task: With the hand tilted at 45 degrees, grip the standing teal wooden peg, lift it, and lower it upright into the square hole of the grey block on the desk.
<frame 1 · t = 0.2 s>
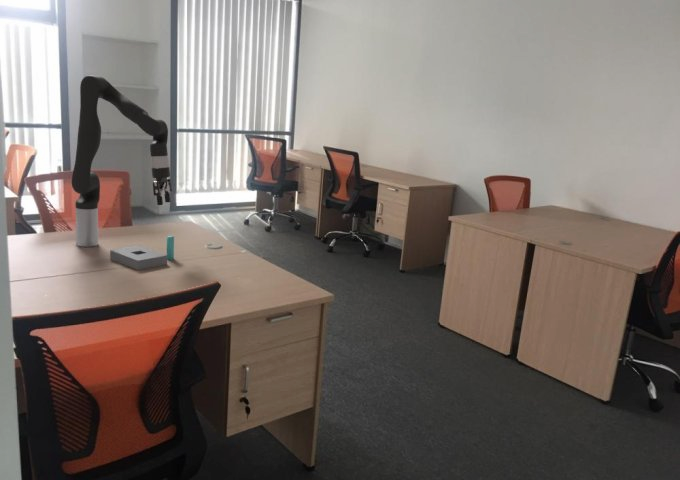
hand: (164, 203, 258), 23 cm above the table, tool pointing down, fingers open, 8 cm apart
peg: (170, 258, 257), on the table
hole block: (138, 261, 249), on the table
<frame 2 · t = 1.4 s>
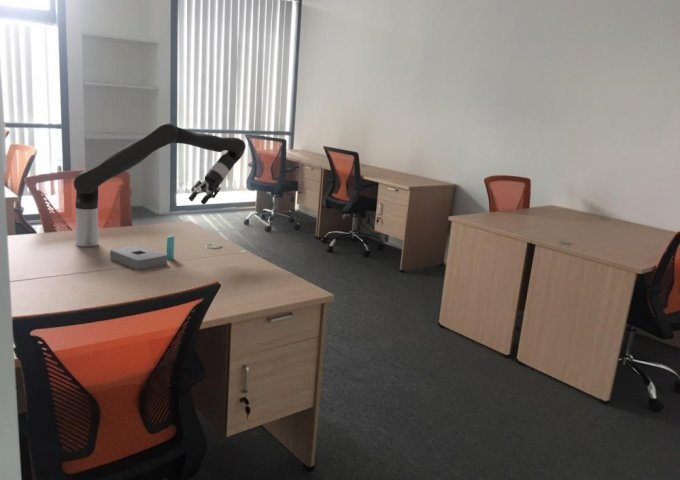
hand: (196, 201, 261), 24 cm above the table, tool tilted 45°, fingers open, 8 cm apart
nothing on the table moved.
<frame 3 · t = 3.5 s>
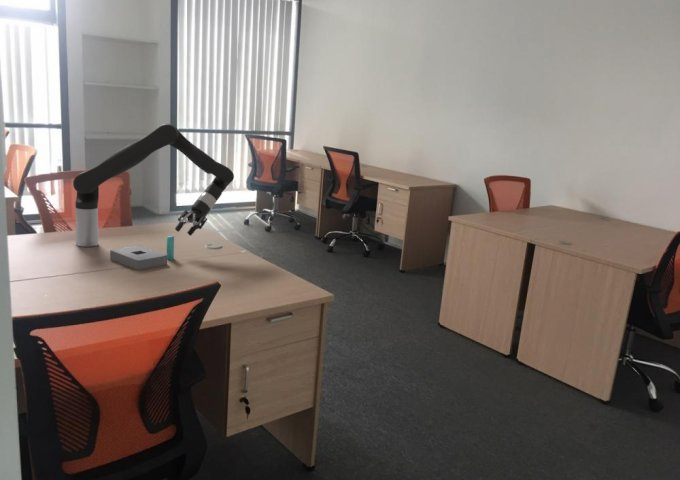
hand: (182, 232, 259), 11 cm above the table, tool tilted 45°, fingers open, 8 cm apart
nothing on the table moved.
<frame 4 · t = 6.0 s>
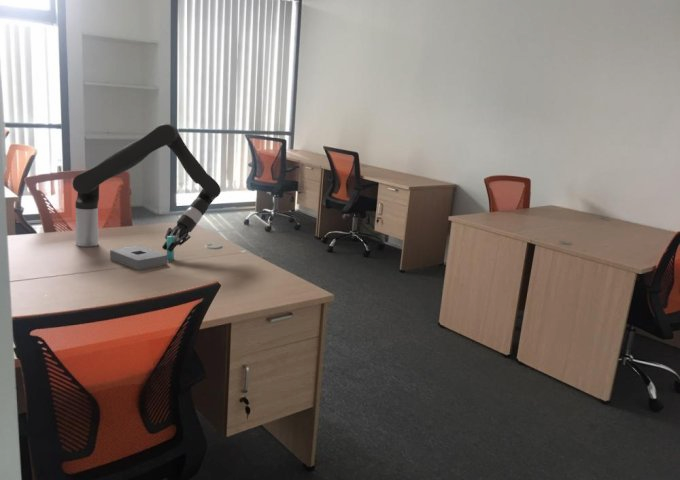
hand: (166, 249, 254), 4 cm above the table, tool tilted 45°, fingers closed on peg, 3 cm apart
peg: (170, 258, 257), on the table, touching gripper
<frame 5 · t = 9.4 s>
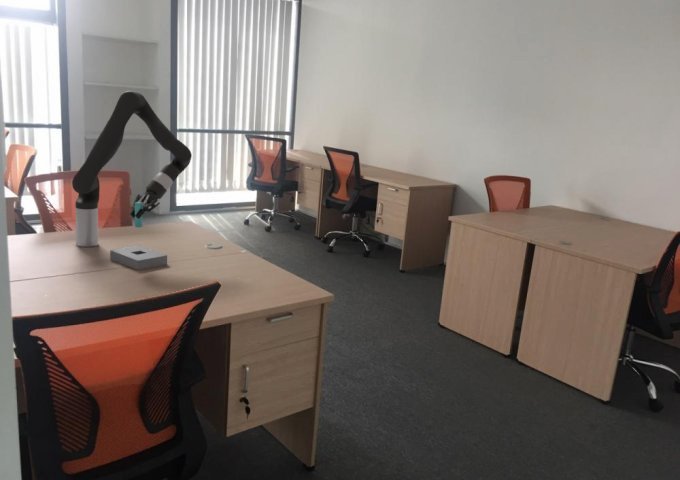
hand: (134, 216, 243), 20 cm above the table, tool tilted 45°, fingers closed on peg, 3 cm apart
peg: (138, 226, 245), point 15 cm above the table, touching gripper
when the fingers open (7 cm above the table, at t = 12.6 s): peg drops 2 cm, resting in hole block.
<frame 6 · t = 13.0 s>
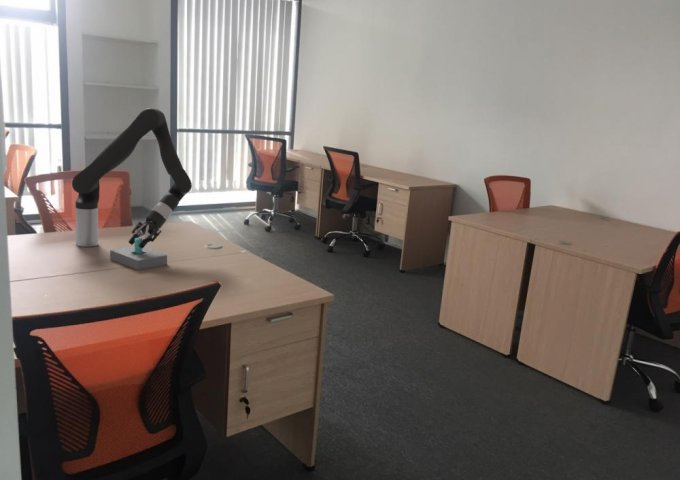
hand: (135, 245, 246), 7 cm above the table, tool tilted 45°, fingers open, 6 cm apart
peg: (138, 261, 249), resting in hole block
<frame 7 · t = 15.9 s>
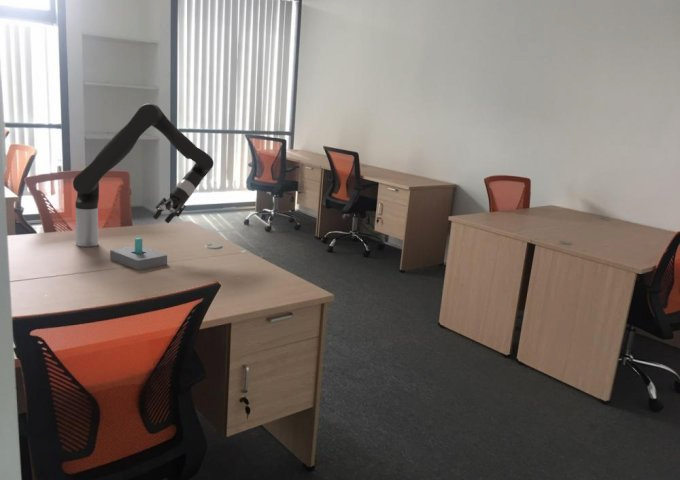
hand: (160, 220, 253), 17 cm above the table, tool tilted 45°, fingers open, 8 cm apart
nothing on the table moved.
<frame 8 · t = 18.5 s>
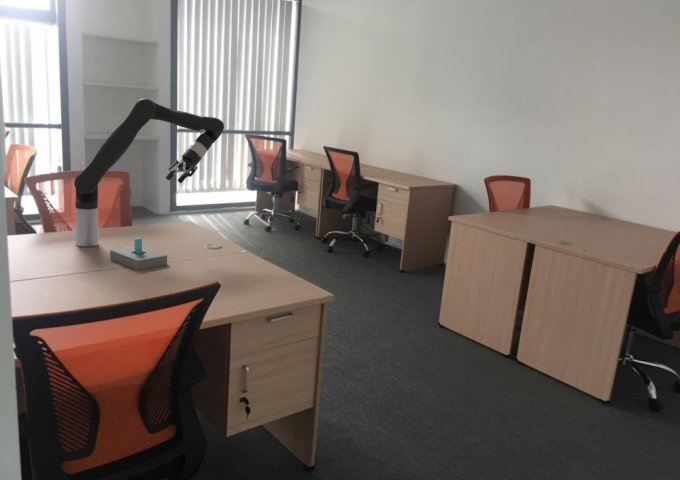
hand: (173, 180, 260), 33 cm above the table, tool tilted 45°, fingers open, 8 cm apart
nothing on the table moved.
at the end: peg 0.1 cm off-centre on the hole block, point 0.0 cm above the hole block's base; peg tilted 1°; the gripper is holding nothing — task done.
